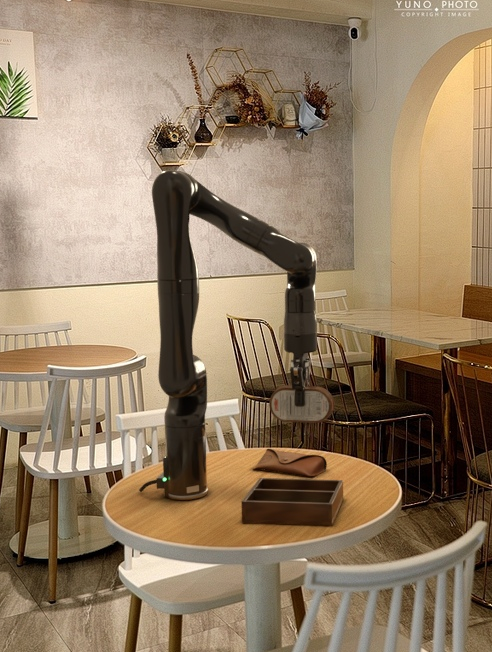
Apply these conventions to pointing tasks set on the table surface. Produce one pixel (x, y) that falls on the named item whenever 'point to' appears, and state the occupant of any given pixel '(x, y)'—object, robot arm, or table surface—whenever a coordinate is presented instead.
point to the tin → (313, 411)
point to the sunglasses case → (292, 463)
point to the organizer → (293, 501)
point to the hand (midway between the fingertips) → (301, 404)
